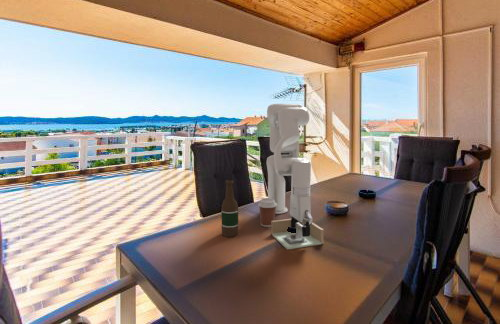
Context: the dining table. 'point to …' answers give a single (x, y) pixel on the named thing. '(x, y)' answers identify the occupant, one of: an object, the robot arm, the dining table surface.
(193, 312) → the dining table surface
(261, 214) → the coffee cup
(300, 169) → the robot arm
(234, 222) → the beer bottle
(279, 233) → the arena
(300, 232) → the bracket
